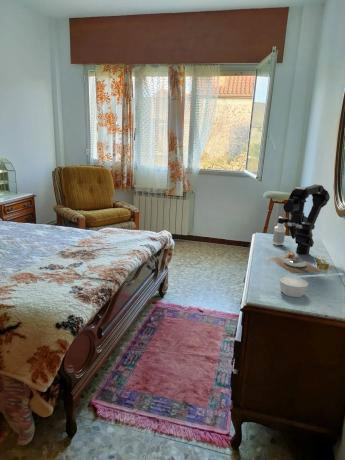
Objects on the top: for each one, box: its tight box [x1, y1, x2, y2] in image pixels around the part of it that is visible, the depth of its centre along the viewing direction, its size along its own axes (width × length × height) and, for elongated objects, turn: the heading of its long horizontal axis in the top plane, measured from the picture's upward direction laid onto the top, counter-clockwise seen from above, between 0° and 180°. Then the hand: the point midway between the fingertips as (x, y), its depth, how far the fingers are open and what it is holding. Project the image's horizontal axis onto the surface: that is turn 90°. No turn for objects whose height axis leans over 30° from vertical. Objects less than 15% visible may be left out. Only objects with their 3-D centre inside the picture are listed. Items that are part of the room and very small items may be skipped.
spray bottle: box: [272, 216, 287, 246], centre depth 203 cm, size 7×7×18 cm
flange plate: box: [284, 251, 307, 268], centre depth 170 cm, size 14×11×4 cm
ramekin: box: [279, 276, 309, 298], centre depth 138 cm, size 11×11×5 cm
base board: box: [269, 256, 324, 274], centre depth 169 cm, size 18×22×1 cm
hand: (293, 238), depth 176 cm, fingers closed
